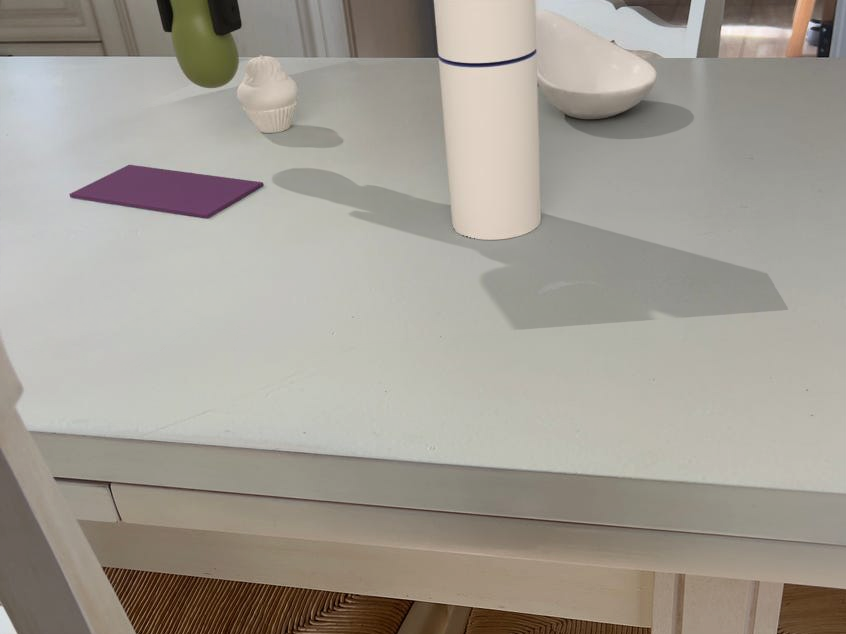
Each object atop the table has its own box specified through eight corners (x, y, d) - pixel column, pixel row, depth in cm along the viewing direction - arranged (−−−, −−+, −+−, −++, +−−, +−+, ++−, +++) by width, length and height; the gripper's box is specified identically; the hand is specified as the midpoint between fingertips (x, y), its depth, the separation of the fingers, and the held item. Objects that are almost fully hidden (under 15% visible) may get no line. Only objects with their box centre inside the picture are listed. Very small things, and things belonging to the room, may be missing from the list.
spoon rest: (678, 113, 100) (683, 33, 95) (577, 138, 96) (577, 56, 91) (552, 64, 116) (551, -6, 112) (461, 84, 112) (456, 12, 108)
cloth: (69, 197, 92) (68, 194, 92) (129, 167, 98) (129, 164, 98) (207, 218, 86) (206, 215, 86) (263, 185, 92) (263, 182, 91)
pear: (173, 93, 94) (142, -30, 87) (209, 77, 97) (181, -42, 91) (221, 96, 91) (193, -30, 85) (256, 80, 95) (231, -42, 89)
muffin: (289, 115, 108) (277, 43, 103) (314, 128, 103) (302, 54, 99) (235, 128, 105) (219, 55, 101) (257, 142, 101) (243, 67, 97)
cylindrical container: (452, 242, 79) (420, -146, 63) (451, 208, 84) (421, -157, 68) (544, 236, 79) (535, -155, 63) (537, 201, 84) (527, -166, 68)
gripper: (34, -216, 80) (103, 36, 92) (202, -226, 74) (254, 46, 85) (100, -223, 85) (158, 16, 97) (264, -234, 79) (305, 24, 90)
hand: (202, 27), depth 91 cm, fingers closed on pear, 5 cm apart
